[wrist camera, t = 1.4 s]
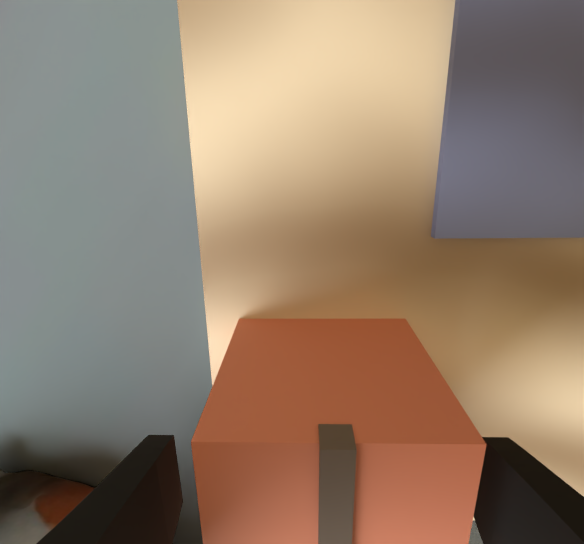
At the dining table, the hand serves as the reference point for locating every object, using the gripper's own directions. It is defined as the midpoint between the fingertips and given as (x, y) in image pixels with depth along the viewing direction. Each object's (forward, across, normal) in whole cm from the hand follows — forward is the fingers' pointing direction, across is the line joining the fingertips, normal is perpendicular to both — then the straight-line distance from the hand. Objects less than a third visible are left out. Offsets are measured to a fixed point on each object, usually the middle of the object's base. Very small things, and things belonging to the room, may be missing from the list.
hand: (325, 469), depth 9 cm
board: (+4, -4, -4) cm, 7 cm away
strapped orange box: (+3, 0, 0) cm, 3 cm away
